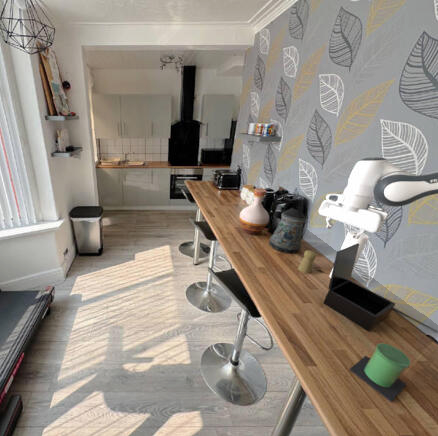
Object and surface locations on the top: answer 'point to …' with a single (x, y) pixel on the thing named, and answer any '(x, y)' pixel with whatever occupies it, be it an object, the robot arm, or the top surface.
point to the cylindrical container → (352, 241)
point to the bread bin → (359, 304)
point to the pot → (386, 365)
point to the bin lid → (343, 265)
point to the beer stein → (288, 231)
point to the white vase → (255, 214)
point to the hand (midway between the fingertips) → (341, 232)
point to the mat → (386, 392)
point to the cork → (307, 262)
